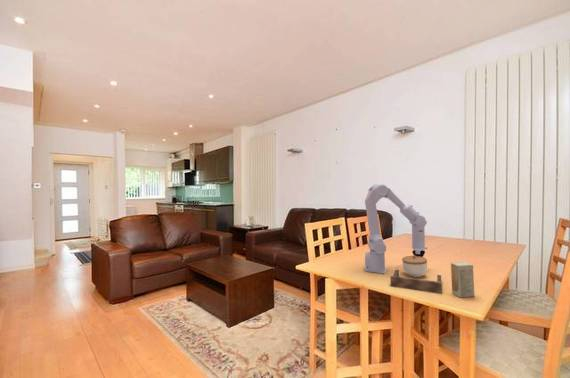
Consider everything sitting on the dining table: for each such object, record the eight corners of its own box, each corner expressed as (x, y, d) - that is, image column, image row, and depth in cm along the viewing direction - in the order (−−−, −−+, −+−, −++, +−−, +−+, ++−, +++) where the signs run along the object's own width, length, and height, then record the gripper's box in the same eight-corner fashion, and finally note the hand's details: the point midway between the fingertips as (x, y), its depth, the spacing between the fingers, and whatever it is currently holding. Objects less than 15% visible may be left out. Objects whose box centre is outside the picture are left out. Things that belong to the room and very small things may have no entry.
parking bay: (390, 285, 114) (390, 276, 114) (395, 274, 128) (395, 266, 128) (441, 293, 104) (441, 283, 104) (441, 280, 118) (441, 271, 118)
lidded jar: (425, 280, 119) (423, 259, 119) (400, 276, 125) (398, 257, 125) (430, 272, 127) (428, 253, 127) (406, 269, 134) (405, 251, 134)
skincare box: (466, 292, 105) (466, 261, 105) (475, 296, 100) (474, 264, 100) (450, 293, 105) (450, 262, 105) (458, 297, 100) (457, 265, 100)
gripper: (426, 241, 126) (427, 270, 126) (427, 236, 139) (428, 262, 139) (410, 240, 130) (411, 268, 130) (412, 235, 142) (413, 260, 142)
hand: (418, 265), depth 134 cm, fingers closed
